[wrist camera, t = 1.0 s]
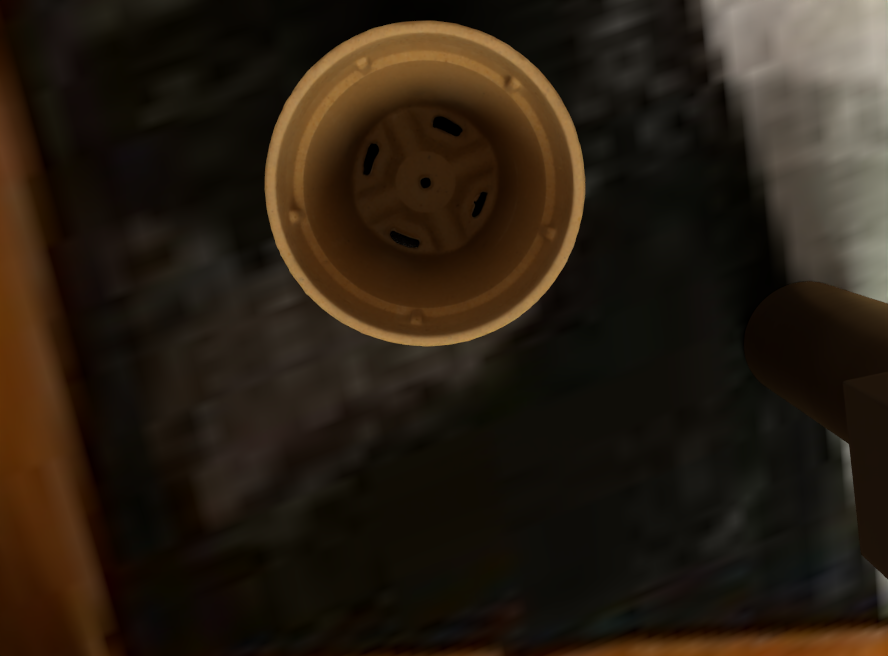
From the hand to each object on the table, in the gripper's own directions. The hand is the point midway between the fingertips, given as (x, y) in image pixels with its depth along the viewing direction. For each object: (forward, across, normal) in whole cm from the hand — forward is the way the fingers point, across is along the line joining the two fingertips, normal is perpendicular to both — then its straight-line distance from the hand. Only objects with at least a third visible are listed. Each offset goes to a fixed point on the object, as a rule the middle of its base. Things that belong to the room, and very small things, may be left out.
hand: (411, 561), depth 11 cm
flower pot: (+21, +1, +4) cm, 22 cm away
